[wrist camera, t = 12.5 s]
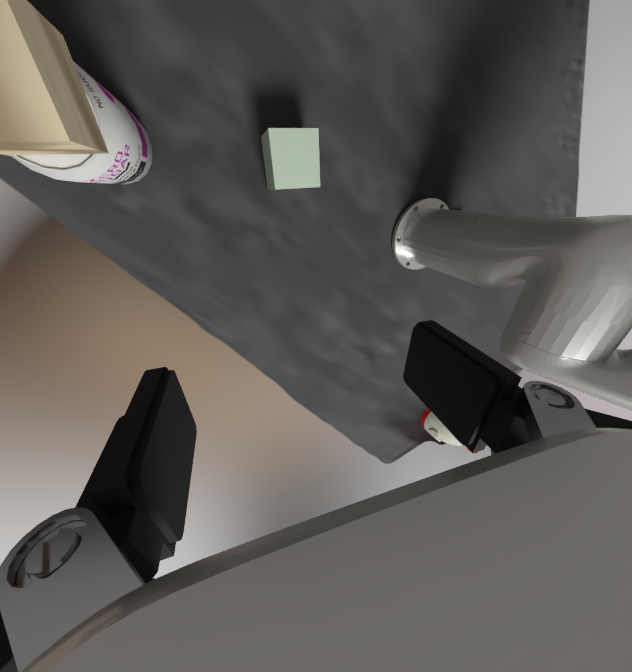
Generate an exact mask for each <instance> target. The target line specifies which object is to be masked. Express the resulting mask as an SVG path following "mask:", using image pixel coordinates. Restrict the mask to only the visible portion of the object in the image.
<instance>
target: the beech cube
mask: <svg viewBox="0 0 632 672" xmlns="http://www.w3.org/2000/svg"><path fill="white" fill-rule="evenodd" d="M106 153H109V152H108V150H107V147H106V145H105V142H104V139H103V137H102V134H101V132H100V129H99V127H98V124H97V122H96V119H95V116H94V114H93V111H92V109H91V106H90V104H89V101H88V99H87V96H86V93H85V91H84V88H83V86H82V83H81V81H80V78H79V76H78V73H77V70H76V68H75V65H74V63H73V60H72V58H71V55H70V53H69V50H68V47H67V45H66V42H65V40H64V37H63V35H62V34H61V33H60V32H59V31H58V30H57V29H56V28H55V27H54V26H53V25H52V24H51V23H50V22H49V21H48V20H47V19H46V18H44V17H43V16H42V15H41V14H40V13H39V12H38V11H37V10H36V9H35V8H34V7H33V6H32V5H31V4H30V3H29V2H28V1H27V0H0V154H3V155H58V154H106Z"/></svg>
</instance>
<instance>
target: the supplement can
mask: <svg viewBox="0 0 632 672" xmlns="http://www.w3.org/2000/svg"><path fill="white" fill-rule="evenodd" d="M73 63H74V65H75V68H76V70H77V73H78V76H79V78H80V81H81V83H82V86H83V88H84V91H85V93H86V96H87V99H88V101H89V104H90V106H91V109H92V111H93V114H94V116H95V119H96V122H97V124H98V127H99V129H100V132H101V134H102V137H103V139H104V142H105V145H106V147H107V150H108V152H109V153H106V154H58V155H10V156H12V157H13V158H15V159H16V160H18V161H19V162H21V163H22V164H23V165H25V166H26V167H28V168H29V169H31V170H33V171H36V172H38V173H41V174H43V175H46V176H48V177H51V178H53V179H57V180H66V181H74V182H90V183H110V184H129V183H133V182H137V181H139V180H140V179H142V178H143V177H144V176H145V175H146V174H147V173H148V171H149V168H150V166H151V164H152V147H151V144H150V141H149V138H148V135H147V132H146V131H145V129H144V128H143V126H142V125H141V123H140V122H139V120H138V118H137V117H136V116H135V115H134V114H132V113H131V112H130V111H129V110H128V109H127V108H126V107H125V106H124V105H123V104H122V103H121V102H120V101H118V100H117V99H116V98H115V97H114V96H113V95H112V94H110V93H109V92H108V91H107V90H106V89H105V88H104V87H103V86H101V85H100V84H99V83H98V82H97V81H96V80H95V79H93V78H92V77H91V76H90V75H89V74H88V73H87V72H85V71H84V70H83V69H82V68H81V67H80V66H79V65H77V64H76V63H75V62H74V61H73Z"/></svg>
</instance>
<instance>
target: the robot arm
mask: <svg viewBox="0 0 632 672" xmlns="http://www.w3.org/2000/svg"><path fill="white" fill-rule="evenodd" d="M392 249H393V254H394V256H395V259H396V260H397V261H398V263H399V264H401V265H402V266H404V267H406V268H408V269H413V270H417V269H422V268H424V267H429V268H432V269H435V270H437V271H440V272H443V273H445V274H448V275H451V276H453V277H456V278H459V279H461V280H464V281H467V282H469V283H472V284H475V285H478V286H480V287H484V288H489V289H501V288H506V287H510V286H514V285H517V284H520V283H523V282H525V284H524V287H523V289H522V292H521V294H520V297H519V299H518V302H517V304H516V306H515V308H514V310H513V312H512V314H511V316H510V318H509V321H508V323H507V325H506V327H505V330H504V332H503V334H502V337H501V342H500V347H501V350H502V353H503V354H504V355H505V357H506V358H507V359H508V360H510V361H511V362H512V363H514V364H515V365H517V366H519V367H521V368H523V369H525V370H527V371H529V372H531V373H534V374H536V375H538V376H541V377H544V378H546V379H549V380H551V381H554V382H557V383H559V384H562V385H565V386H568V387H571V388H573V389H576V390H578V391H581V392H583V393H586V394H589V395H591V396H594V397H597V398H599V399H602V400H605V401H607V402H610V403H613V404H615V405H618V406H621V407H623V408H626V409H629V410H631V411H632V349H630V350H620V349H616V348H617V347H618V346H619V344H620V343H621V342H622V340H623V339H624V338H625V336H626V335H627V334H628V332H629V331H630V330H631V328H632V215H609V216H591V217H565V218H547V217H528V216H515V215H502V214H491V213H480V212H469V211H458V210H449V208H448V206H447V205H446V204H445V203H444V202H443V201H441V200H439V199H436V198H424V199H421V200H418V201H416V202H415V203H413V204H412V205H410V206H409V207H408V208H407V209H406V210H405V211H404V213H403V214H402V215H401V217H400V218H399V220H398V222H397V224H396V226H395V229H394V233H393V238H392ZM403 378H404V381H405V383H406V384H407V385H408V386H409V387H410V389H411V390H412V391H413V392H414V393H415V394H416V395H417V396H418V397H419V398H420V400H421V401H422V402H423V403H424V404H425V405H426V406H427V407H428V408H429V409H430V411H431V412H432V413H433V414H434V415H435V416H436V417H437V418H438V419H439V420H440V421H441V423H442V424H443V425H444V426H445V427H446V428H447V429H448V430H449V431H450V432H451V434H452V435H453V436H454V437H455V438H456V439H457V440H458V441H459V442H460V443H461V444H462V445H465V446H466V447H467V448H468V449H469V450H470V451H471V452H472V453H475V452H478V451H480V450H484V449H485V447H486V445H488V446H489V447H490V448H491V454H492V455H491V456H488V457H485V458H482V459H479V460H476V461H474V462H470V463H468V464H465V465H462V466H459V467H456V468H453V469H450V470H447V471H445V472H442V473H439V474H436V475H433V476H430V477H428V478H425V479H422V480H419V481H416V482H414V483H410V484H408V485H405V486H402V487H399V488H396V489H394V490H391V491H388V492H385V493H382V494H380V495H377V496H374V497H371V498H368V499H365V500H363V501H360V502H357V503H354V504H351V505H348V506H346V507H343V508H340V509H337V510H335V511H332V512H329V513H326V514H323V515H321V516H318V517H315V518H312V519H310V520H307V521H304V522H301V523H298V524H296V525H293V526H290V527H287V528H284V529H282V530H279V531H276V532H273V533H270V534H268V535H265V536H263V537H260V538H257V539H255V540H252V541H249V542H246V543H244V544H241V545H238V546H236V547H233V548H231V549H228V550H226V551H223V552H220V553H217V554H215V555H212V556H209V557H207V558H204V559H202V560H199V561H196V562H194V563H192V564H189V565H187V566H185V567H182V568H180V569H178V570H175V571H173V572H171V573H168V574H166V575H164V576H162V577H159V578H157V579H155V578H154V576H155V574H156V573H157V572H158V567H159V562H160V560H163V559H166V558H169V557H172V556H174V551H175V545H176V542H177V541H180V540H181V539H182V536H183V532H184V525H185V516H186V510H187V501H188V495H189V487H190V479H191V472H192V464H193V457H194V449H195V441H196V432H197V430H196V424H195V421H194V419H193V416H192V414H191V411H190V409H189V406H188V404H187V401H186V398H185V396H184V393H183V391H182V388H181V386H180V383H179V381H178V379H177V376H176V373H175V371H174V370H170V371H169V370H168V369H167V368H166V367H162V368H157V369H151V370H146V371H145V372H144V374H143V376H142V379H141V381H140V383H139V385H138V387H137V389H136V391H135V394H134V396H133V398H132V400H131V403H130V405H129V407H128V409H127V411H126V413H125V415H124V416H122V417H121V418H119V419H118V421H117V422H116V424H115V426H114V429H113V431H112V433H111V435H110V437H109V439H108V441H107V443H106V445H105V447H104V449H103V451H102V453H101V456H100V458H99V460H98V462H97V464H96V466H95V468H94V470H93V472H92V474H91V476H90V479H89V481H88V482H87V485H86V487H85V489H84V491H83V493H82V495H81V497H80V499H79V501H78V503H77V505H76V507H75V508H71V509H66V510H64V511H62V512H59V513H57V514H55V515H53V516H51V517H49V518H48V519H46V520H44V521H43V522H41V523H40V524H38V525H37V526H36V527H35V528H33V529H32V530H31V531H30V532H29V533H27V534H26V535H25V536H24V537H23V538H22V539H21V540H20V541H19V542H18V543H17V544H16V545H15V547H13V549H12V550H11V551H10V552H9V554H8V555H7V557H6V558H5V560H4V561H3V563H2V564H1V566H0V672H632V421H629V420H625V419H621V418H618V417H614V416H610V415H606V414H603V413H599V412H595V411H591V410H587V409H584V408H583V406H582V404H581V403H580V401H579V400H578V399H577V398H576V397H575V396H573V395H572V394H571V393H570V392H568V391H566V390H564V389H563V388H561V387H558V386H556V385H553V384H550V383H546V382H541V381H529V382H527V383H525V385H524V386H523V388H520V387H519V386H518V384H519V382H520V380H521V378H522V377H520V376H519V375H517V374H515V373H514V372H512V371H511V370H509V369H508V368H506V367H505V366H503V365H501V364H500V363H498V362H497V361H495V360H494V359H492V358H491V357H489V356H487V355H486V354H484V353H483V352H481V351H480V350H478V349H477V348H475V347H473V346H472V345H470V344H469V343H467V342H466V341H464V340H463V339H461V338H459V337H458V336H456V335H455V334H453V333H452V332H450V331H449V330H447V329H445V328H444V327H442V326H441V325H439V324H438V323H436V322H435V321H432V320H429V321H423V322H419V323H417V324H416V326H415V327H414V328H413V331H412V336H411V341H410V346H409V350H408V355H407V360H406V365H405V370H404V375H403Z"/></svg>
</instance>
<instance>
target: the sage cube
mask: <svg viewBox="0 0 632 672" xmlns="http://www.w3.org/2000/svg"><path fill="white" fill-rule="evenodd" d="M261 141H262V149H263V156H264V164H265V172H266V180H267V188H268V189H273V190H276V189H293V188H309V187H320V164H319V134H318V128H268V129H267V130H266V131H265V133H264V134H263V135H262V136H261Z"/></svg>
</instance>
